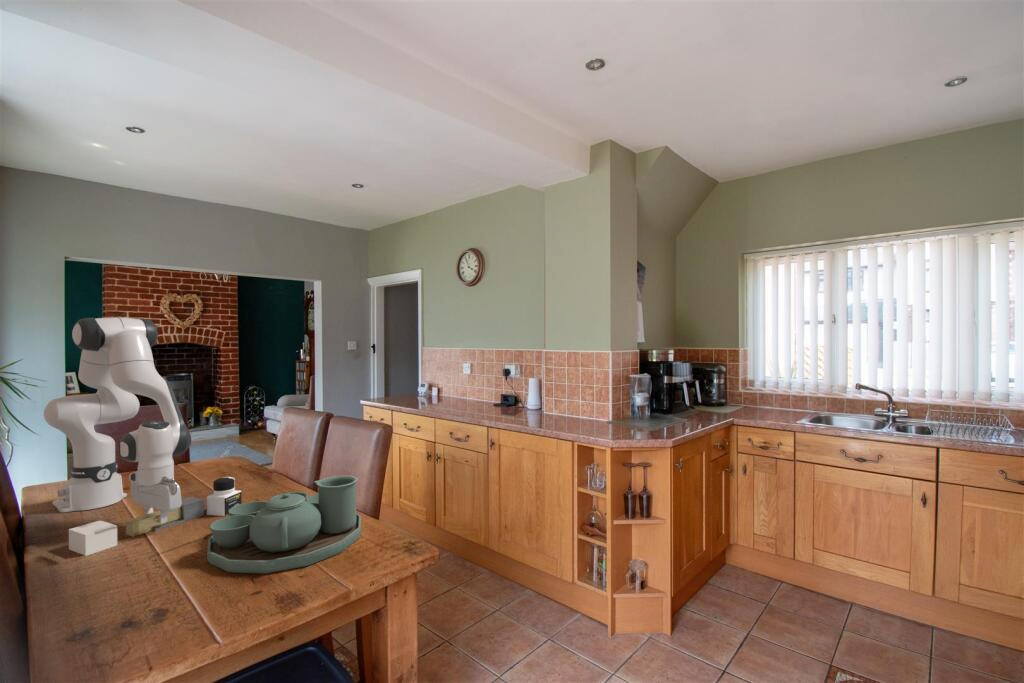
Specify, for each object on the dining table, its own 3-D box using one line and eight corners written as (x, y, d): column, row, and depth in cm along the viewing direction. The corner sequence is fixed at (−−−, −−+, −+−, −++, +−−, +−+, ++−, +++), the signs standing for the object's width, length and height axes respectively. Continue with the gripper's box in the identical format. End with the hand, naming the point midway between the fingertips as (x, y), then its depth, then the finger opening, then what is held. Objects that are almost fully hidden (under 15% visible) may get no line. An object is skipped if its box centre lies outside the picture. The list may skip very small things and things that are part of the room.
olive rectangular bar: (125, 534, 137) (125, 520, 137) (184, 515, 152) (184, 502, 152) (133, 536, 136) (133, 522, 136) (191, 517, 150) (191, 504, 150)
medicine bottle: (225, 519, 151) (224, 482, 151) (206, 518, 153) (205, 481, 153) (242, 511, 158) (241, 475, 158) (223, 510, 160) (223, 474, 160)
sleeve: (141, 530, 143) (141, 510, 143) (190, 515, 155) (190, 496, 155) (156, 535, 139) (156, 514, 139) (205, 518, 152) (205, 499, 152)
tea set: (326, 507, 163) (326, 459, 163) (386, 541, 134) (386, 484, 134) (190, 542, 135) (189, 484, 135) (229, 595, 106) (228, 522, 106)
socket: (68, 553, 128) (68, 529, 128) (100, 543, 134) (100, 520, 134) (85, 559, 124) (85, 535, 124) (117, 549, 130) (117, 525, 130)
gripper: (187, 476, 141) (188, 522, 141) (149, 468, 150) (149, 512, 150) (164, 482, 135) (164, 530, 135) (125, 473, 144) (126, 519, 144)
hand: (156, 520), depth 143 cm, fingers open, 5 cm apart
